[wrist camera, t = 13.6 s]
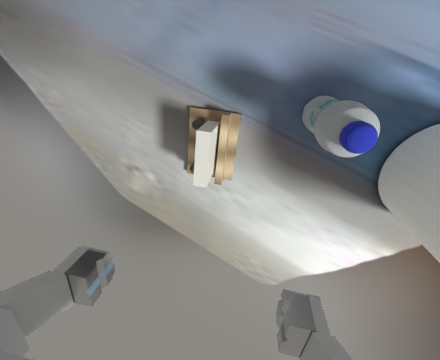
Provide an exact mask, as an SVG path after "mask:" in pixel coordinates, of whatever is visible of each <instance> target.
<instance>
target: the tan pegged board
mask: <svg viewBox="0 0 440 360" xmlns="http://www.w3.org/2000/svg"><path fill="white" fill-rule="evenodd" d="M240 119H241V114H240V113H233V112H225V111H218V110H211V109H204V108H196V107H190V118H189V140H188V161H187V173H192V174H194V162H195V146H196V130H197V129H199V128H200V127H201V126H202V125H203V124H205V123H206V122H207V121H208V120H209V121H216V122H220V130H219V139H218V148H217V158H216V167H215V171H214V173H213V175H212V177H215V182H214V184H219V185H221V183H222V181H223V179H227V180H232V174H233V167H234V160H235V153H236V146H237V140H238V133H239V126H240Z"/></svg>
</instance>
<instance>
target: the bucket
mask: <svg viewBox="0 0 440 360" xmlns="http://www.w3.org/2000/svg"><path fill="white" fill-rule="evenodd" d="M378 190H379V196H380V198H381V200H382V202H383V204H384V205H385V206H386V207H387V209H388V210H389V211H390V212H391V213H392V214H393V215H394V216H395V217H396V218H397V219H398V220H399V221H400V222H401V223H402V224H403V225H404V226H405V227H406V228H407V229H408V230H409V231H410V232H411V233H412V234H413V235H414V237H415V238H416V239H417V240H418V241H419V242H420V243H421V244H422V245H423V246H424V247H425V248H426V249H427V250H428V251H429V252H430V253H431V254H432V255H433V256H434V257H435V258H436V259H437V260H438V261H439V262H440V124H437V125H433V126H430V127H427V128H425V129H423V130H421V131H419V132H417V133H415V134H413V135H412V136H410V137H409V138H407V139H405V140H404V141H403V142H402V143H401V144H399V145H398V146H397V147H396V148H395V149H394V150H393V151H392V152H391V154H390V155H389V156H388V157H387V159H386V160H385V162H384V164H383V166H382V168H381V171H380V174H379V178H378Z"/></svg>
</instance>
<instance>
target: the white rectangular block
mask: <svg viewBox="0 0 440 360" xmlns="http://www.w3.org/2000/svg"><path fill="white" fill-rule="evenodd" d="M219 130H220V122H216V121H209V120H208V121H207V122H206V123H205V124H203V125H202V126H201V127H200V128H199V129H197V130H196V146H195V162H194V178H193V185H194V186H199V187H205V188H206V187H207V185H208V183H209V181H210V179H211V177H212V175H213V173H214V171H215V167H216V158H217V148H218V139H219Z"/></svg>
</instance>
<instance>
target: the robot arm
mask: <svg viewBox="0 0 440 360" xmlns="http://www.w3.org/2000/svg"><path fill="white" fill-rule="evenodd" d="M112 259H113V253H111V252H107V251H103V250H99V249H95V248H90V247H86V246H80V247H78V248H77V249H76V250H75V251H74V252H73V253H71V254H70V255H69V256H68V257H67V258H66V259H65V260H64V261H63V262H62V263H61V264H60V265H58V266H57V268H55V269H54V270H53V271H47V272H45V273H43V274H40V275H38V276H36V277H34V278H31V279H29V280H27V281H24V282H22V283H20V284H17V285H15V286H13V287H10V288H8V289H6V290H3V291H1V292H0V360H33V359H29V358H26V357H23V356H24V355H25V353H26V352H27V351H28V350H29V345H28V343H27V341H26V339H25V337H26V336H27V335H29V334H30V333H31V332H33V331H34V330H36V329H38V328H39V327H41V326H42V325H44V324H45V323H47V322H48V321H50V320H51V319H53V318H54V317H56V316H57V315H58V314H60V313H62V312H63V311H65V310H66V309H67V308H69V307H71V306H72V305H74V303H77V304H82V305H87V306H93V305H94V303H95V302H96V301H97V299H98V298H99V296H100V295H101V294H102V288H104V287H105V286H107V285H108V284H109V283H110V281H111V280H112V277H113V275H114V272H115V265H114V264H113V263H112V262H111V261H112ZM276 322H277V325H278V327H279V332H278V335H277V337H278V350H279V352H280V353H284V354H287V355H291V356H295V357H298V358H300V360H353V359H352V357H351V356H350V355H349V354H348V352H346V350H345V349H344V347H343V346H342V345H341V344H340V343H339V341H338V340H337V339H336V338H335V337H334V336H331V335H330V331H329V327H328V324H327V320H326V317H325V313H324V310H323V306H322V303H321V299H320V297H319V296H314V295H310V294H306V293H301V292H296V291H291V290H286V289H283V291H282V293H281V300H280V301H279V302H278V305H277V312H276Z"/></svg>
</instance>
